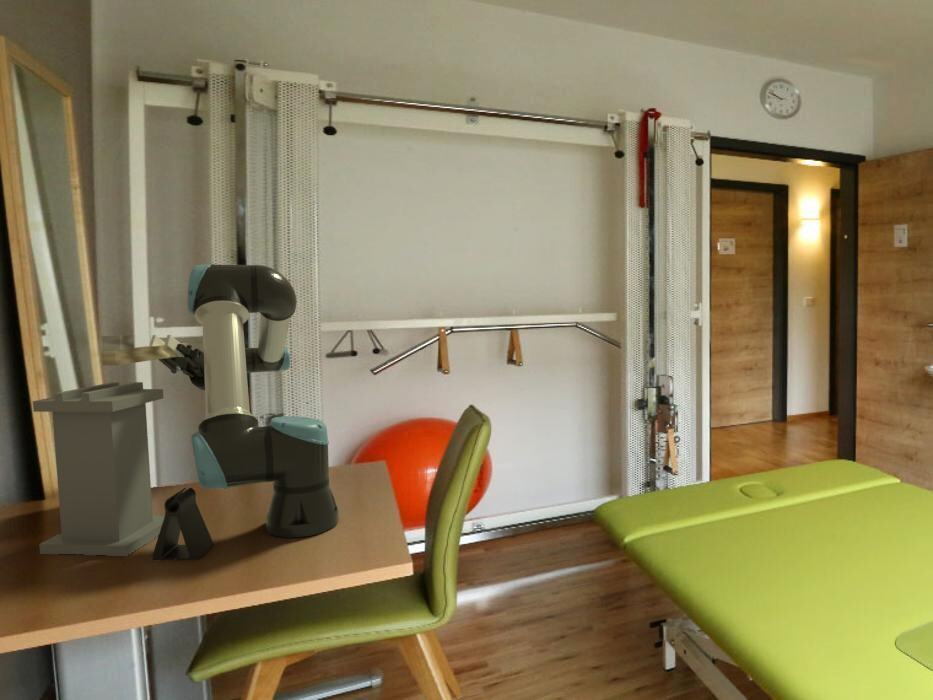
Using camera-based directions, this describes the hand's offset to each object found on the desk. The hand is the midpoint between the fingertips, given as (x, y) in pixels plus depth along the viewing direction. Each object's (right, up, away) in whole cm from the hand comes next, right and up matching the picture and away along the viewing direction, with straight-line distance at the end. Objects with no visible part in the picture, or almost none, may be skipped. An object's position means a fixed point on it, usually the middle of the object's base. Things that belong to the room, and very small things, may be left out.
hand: (160, 340), depth 129 cm
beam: (0, -4, -3) cm, 6 cm away
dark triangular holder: (+18, -42, -23) cm, 51 cm away
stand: (-1, -41, -16) cm, 44 cm away
